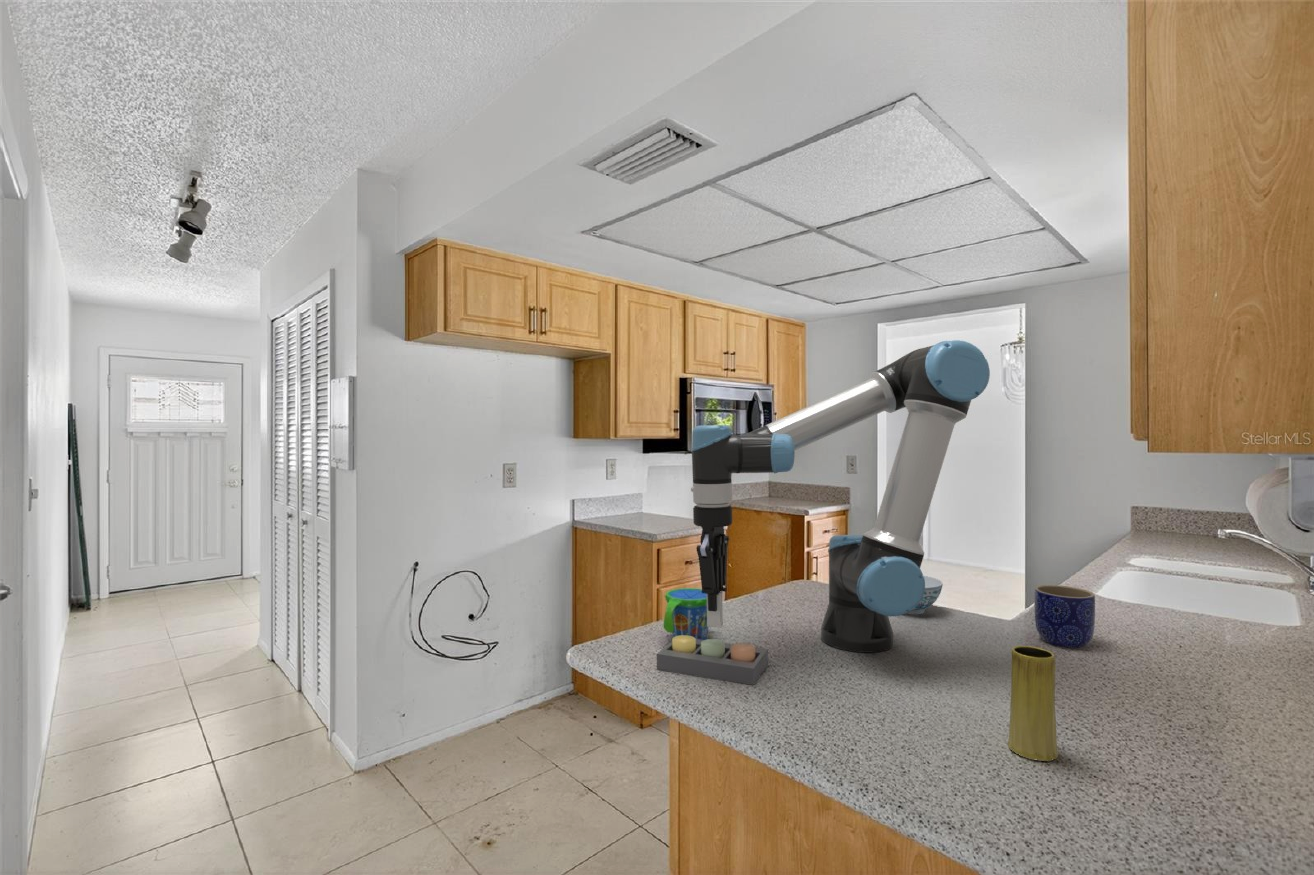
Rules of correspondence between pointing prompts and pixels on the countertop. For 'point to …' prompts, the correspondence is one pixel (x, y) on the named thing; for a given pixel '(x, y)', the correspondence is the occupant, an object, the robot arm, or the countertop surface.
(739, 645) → the button terracotta
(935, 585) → the chinaware
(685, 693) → the countertop surface
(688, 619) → the snack cup
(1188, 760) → the countertop surface
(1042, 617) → the planter
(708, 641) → the button sage
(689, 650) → the button mustard
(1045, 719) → the vase
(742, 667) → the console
